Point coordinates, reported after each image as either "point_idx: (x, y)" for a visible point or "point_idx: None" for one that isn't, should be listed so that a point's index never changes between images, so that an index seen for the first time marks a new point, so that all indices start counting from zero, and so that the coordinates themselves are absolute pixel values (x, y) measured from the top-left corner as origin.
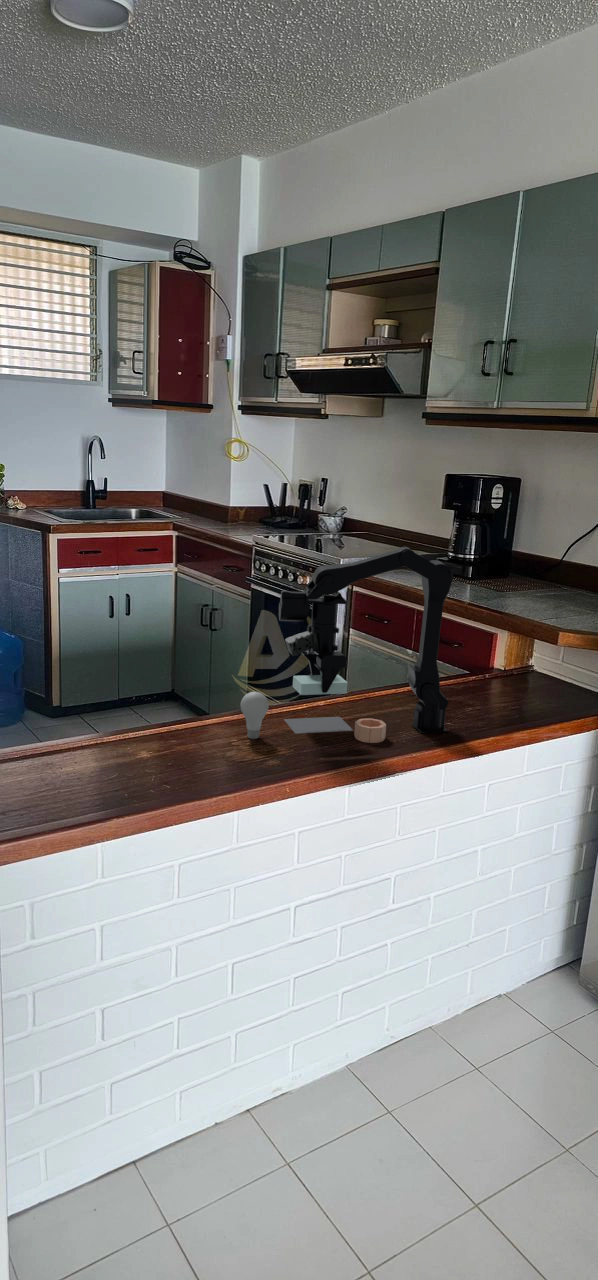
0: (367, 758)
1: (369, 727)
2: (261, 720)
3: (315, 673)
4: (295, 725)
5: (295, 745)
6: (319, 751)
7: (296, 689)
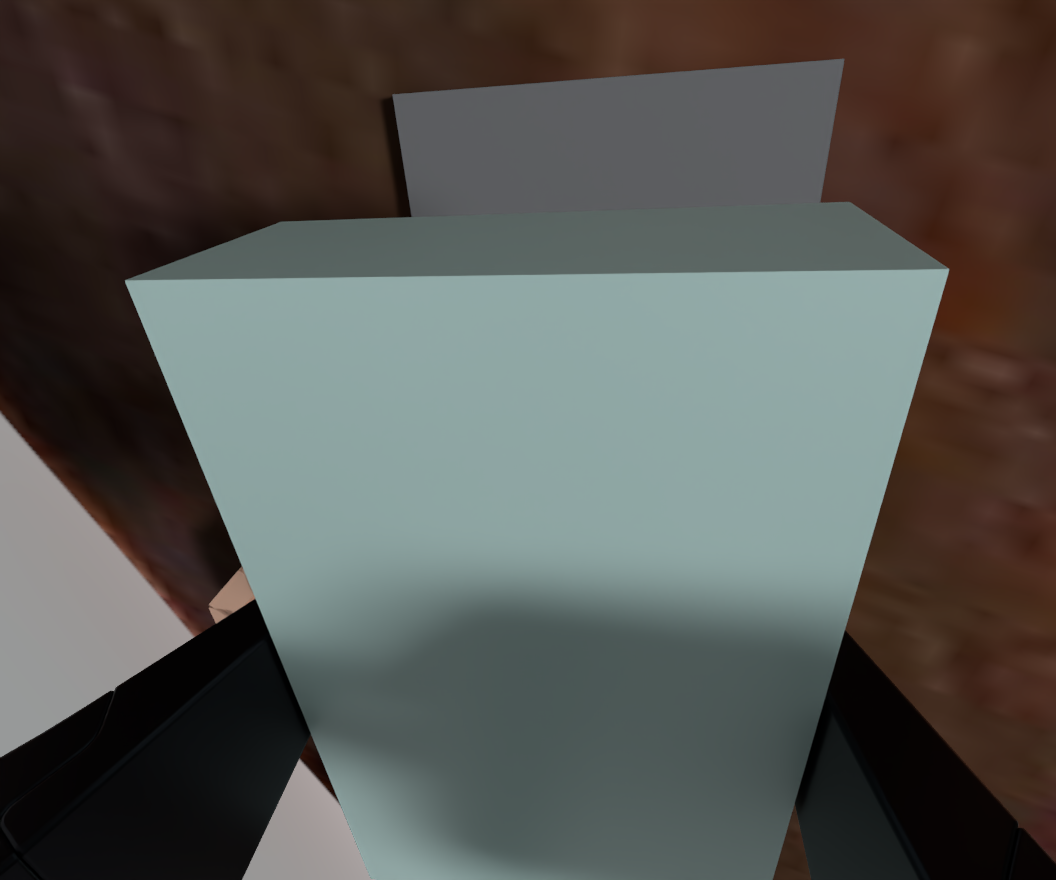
0: (86, 455)
1: (221, 607)
2: None
3: (832, 782)
4: (613, 154)
5: (181, 38)
6: (108, 214)
7: (555, 215)
